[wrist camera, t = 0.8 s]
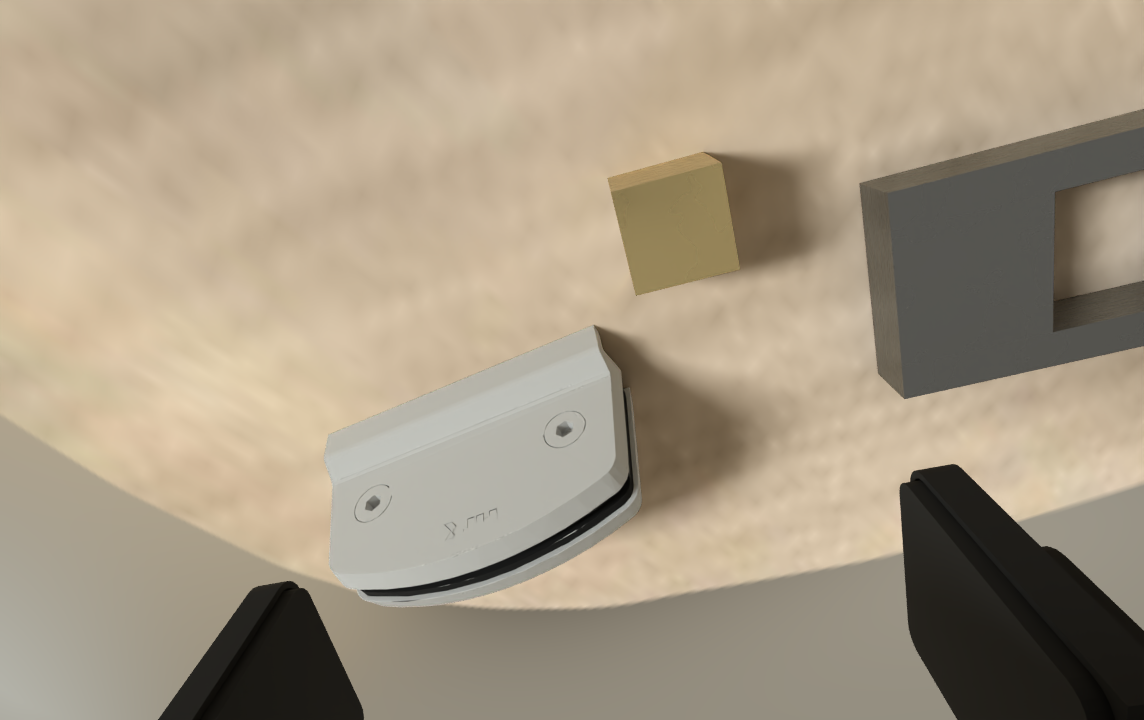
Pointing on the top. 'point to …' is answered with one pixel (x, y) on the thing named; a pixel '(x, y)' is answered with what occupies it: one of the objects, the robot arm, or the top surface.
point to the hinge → (485, 478)
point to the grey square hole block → (991, 262)
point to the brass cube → (675, 222)
